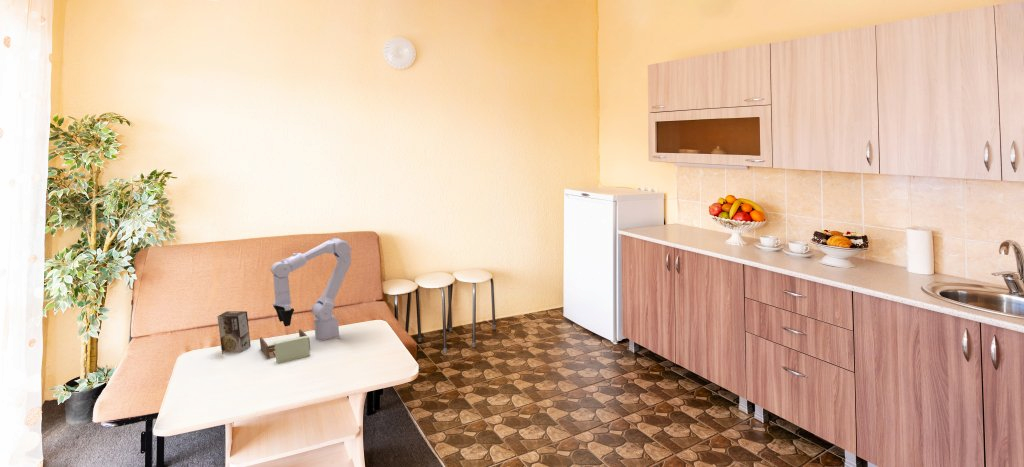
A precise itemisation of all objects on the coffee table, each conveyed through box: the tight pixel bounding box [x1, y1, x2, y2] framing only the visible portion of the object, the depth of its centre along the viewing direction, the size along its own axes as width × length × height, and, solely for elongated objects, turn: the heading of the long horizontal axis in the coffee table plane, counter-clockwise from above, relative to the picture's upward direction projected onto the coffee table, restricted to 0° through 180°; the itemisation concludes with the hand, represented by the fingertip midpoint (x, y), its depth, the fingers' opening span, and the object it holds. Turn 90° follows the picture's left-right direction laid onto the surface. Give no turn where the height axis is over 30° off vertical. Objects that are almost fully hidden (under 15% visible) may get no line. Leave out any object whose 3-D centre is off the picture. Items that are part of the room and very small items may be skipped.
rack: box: [259, 328, 311, 360], centre depth 214 cm, size 16×13×6 cm
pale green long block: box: [274, 335, 311, 364], centre depth 204 cm, size 12×2×8 cm, turn 125°
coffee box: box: [217, 310, 252, 355], centre depth 215 cm, size 9×6×16 cm
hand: (284, 323), depth 218 cm, fingers open, 7 cm apart
